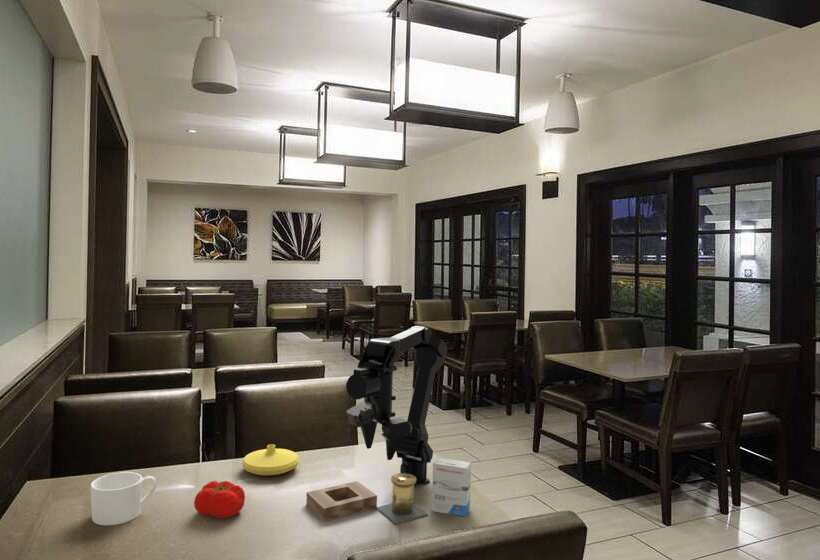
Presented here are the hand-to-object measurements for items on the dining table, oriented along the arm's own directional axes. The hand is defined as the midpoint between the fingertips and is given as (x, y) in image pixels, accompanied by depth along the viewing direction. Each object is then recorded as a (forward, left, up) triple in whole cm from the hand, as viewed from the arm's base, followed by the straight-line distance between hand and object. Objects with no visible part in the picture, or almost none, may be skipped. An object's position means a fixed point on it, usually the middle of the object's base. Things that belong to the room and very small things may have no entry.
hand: (378, 453), depth 137 cm
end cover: (-3, +7, -12) cm, 14 cm away
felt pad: (-3, +7, -13) cm, 14 cm away
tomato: (+34, -14, -13) cm, 39 cm away
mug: (+53, -24, -13) cm, 60 cm away
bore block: (+8, -3, -13) cm, 15 cm away
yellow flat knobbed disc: (+15, -33, -13) cm, 39 cm away
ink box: (-14, +12, -13) cm, 22 cm away
